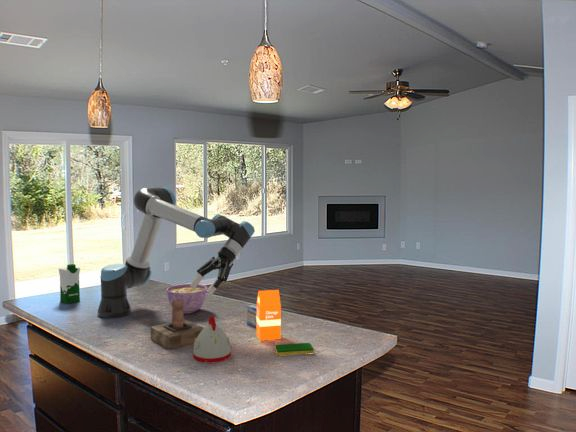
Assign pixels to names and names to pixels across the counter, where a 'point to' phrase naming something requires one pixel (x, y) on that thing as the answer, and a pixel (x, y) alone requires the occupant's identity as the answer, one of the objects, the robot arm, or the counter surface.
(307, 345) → the dish sponge
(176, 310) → the terracotta peg
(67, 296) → the milk carton
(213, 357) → the kitchen timer
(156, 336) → the walnut socket block
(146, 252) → the robot arm
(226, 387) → the counter surface
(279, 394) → the counter surface
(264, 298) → the orange juice
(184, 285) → the bowl of food
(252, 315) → the medicine box
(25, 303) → the counter surface
